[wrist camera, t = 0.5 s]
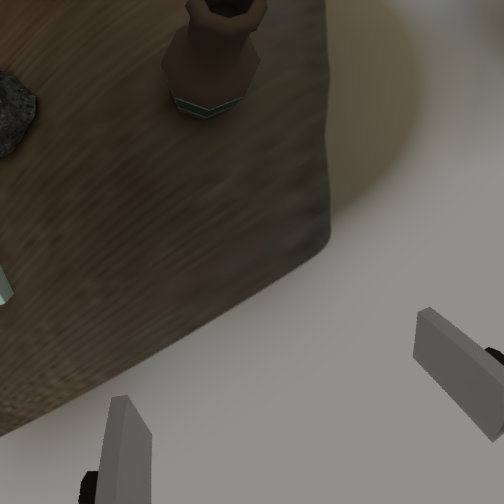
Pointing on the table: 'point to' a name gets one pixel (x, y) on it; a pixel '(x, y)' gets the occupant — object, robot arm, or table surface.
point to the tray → (4, 288)
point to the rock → (14, 113)
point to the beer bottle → (213, 56)
